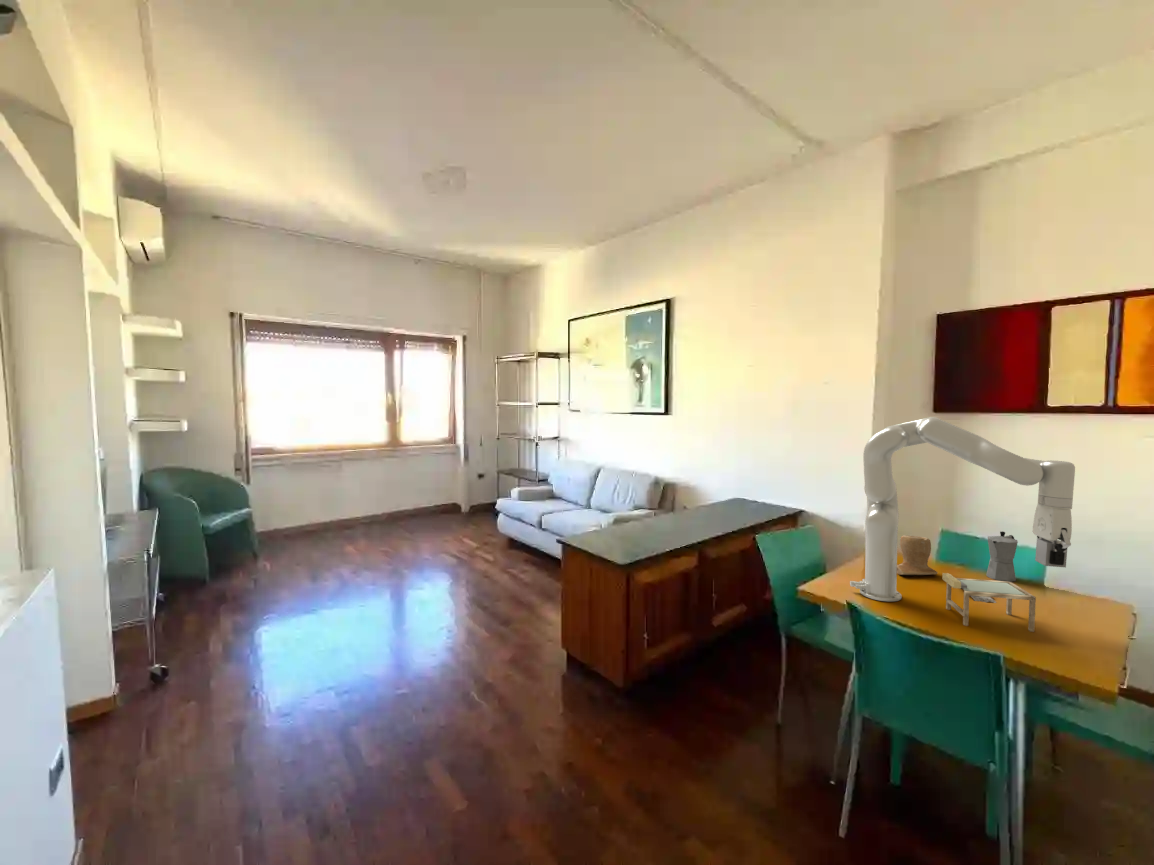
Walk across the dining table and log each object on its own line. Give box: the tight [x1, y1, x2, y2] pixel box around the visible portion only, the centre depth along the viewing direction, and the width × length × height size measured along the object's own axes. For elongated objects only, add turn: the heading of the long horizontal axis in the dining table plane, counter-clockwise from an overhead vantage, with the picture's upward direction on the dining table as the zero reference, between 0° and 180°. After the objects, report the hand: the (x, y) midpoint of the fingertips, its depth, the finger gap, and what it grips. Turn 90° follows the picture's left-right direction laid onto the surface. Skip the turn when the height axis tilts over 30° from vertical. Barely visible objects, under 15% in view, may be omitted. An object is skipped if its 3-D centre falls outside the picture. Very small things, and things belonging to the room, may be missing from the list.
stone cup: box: [897, 535, 939, 576], centre depth 198 cm, size 15×12×15 cm
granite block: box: [1034, 537, 1068, 568], centre depth 151 cm, size 5×5×7 cm
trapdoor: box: [941, 572, 1025, 595], centre depth 156 cm, size 18×10×3 cm, turn 74°
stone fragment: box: [962, 588, 998, 604], centre depth 181 cm, size 25×3×10 cm
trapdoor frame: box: [945, 577, 1037, 633], centre depth 156 cm, size 18×13×10 cm
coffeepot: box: [986, 531, 1019, 583], centre depth 192 cm, size 15×9×18 cm, turn 118°
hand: (1050, 560), depth 151 cm, fingers closed on granite block, 5 cm apart
